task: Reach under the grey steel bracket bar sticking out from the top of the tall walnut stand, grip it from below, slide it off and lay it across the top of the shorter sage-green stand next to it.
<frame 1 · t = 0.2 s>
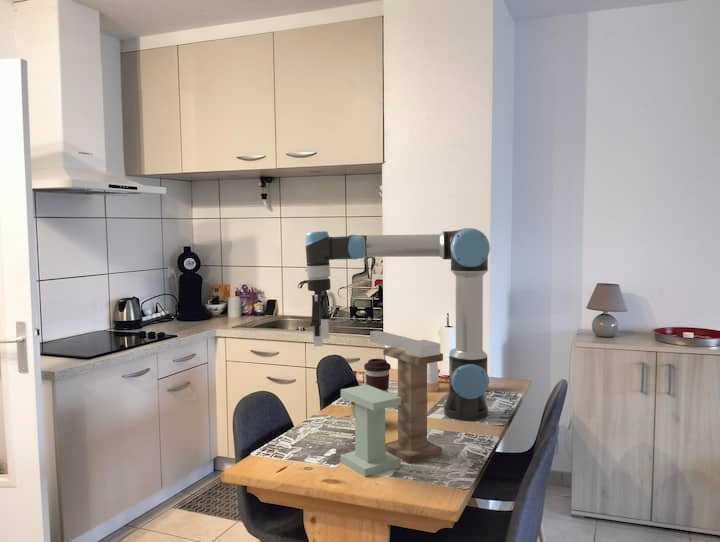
hand: (321, 342, 201), 27 cm above the table, tool pointing down, fingers open, 13 cm apart
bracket: (412, 350, 174), point 30 cm above the table, touching tall stand
flower pot: (365, 424, 202), on the table
low stand: (370, 463, 168), on the table
tall stand: (412, 452, 177), on the table
coffee cup: (377, 399, 230), on the table
pepper shaker: (430, 390, 243), on the table
food container: (473, 391, 241), on the table
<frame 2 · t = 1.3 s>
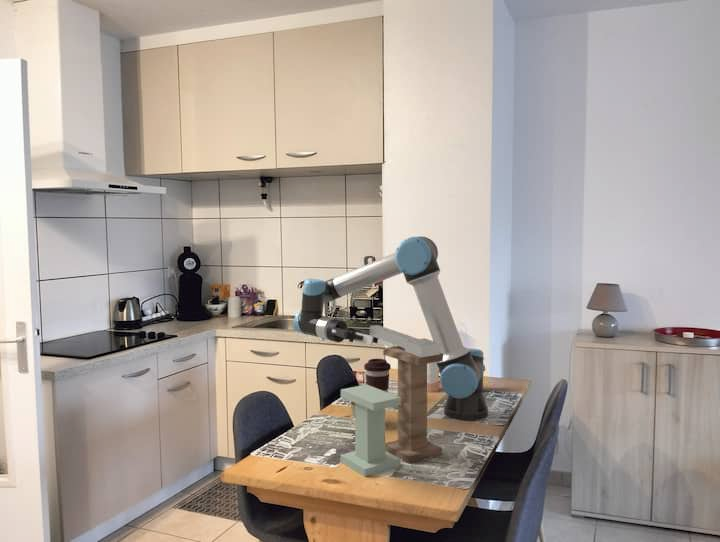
hand: (383, 342, 194), 29 cm above the table, tool horizontal, fingers open, 13 cm apart
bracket: (412, 349, 174), point 31 cm above the table, touching gripper, tall stand
everything else where it was.
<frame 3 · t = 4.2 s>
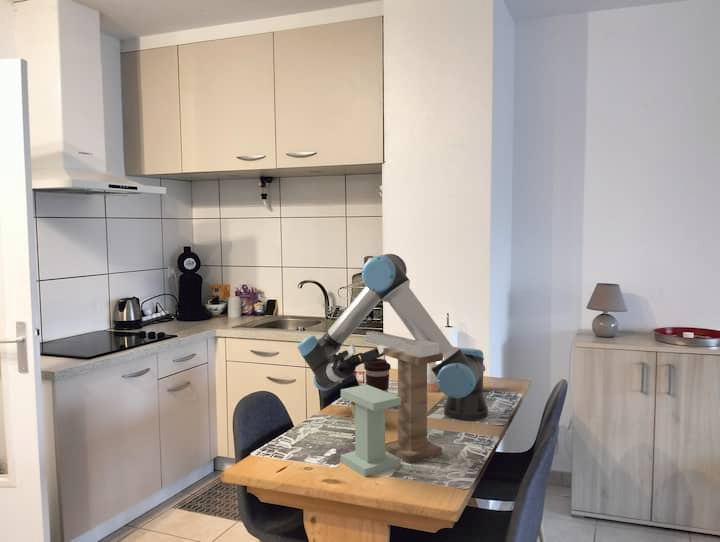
hand: (372, 345, 190), 28 cm above the table, tool pointing upward, fingers open, 13 cm apart
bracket: (410, 350, 174), point 30 cm above the table, touching tall stand
everything else where it was.
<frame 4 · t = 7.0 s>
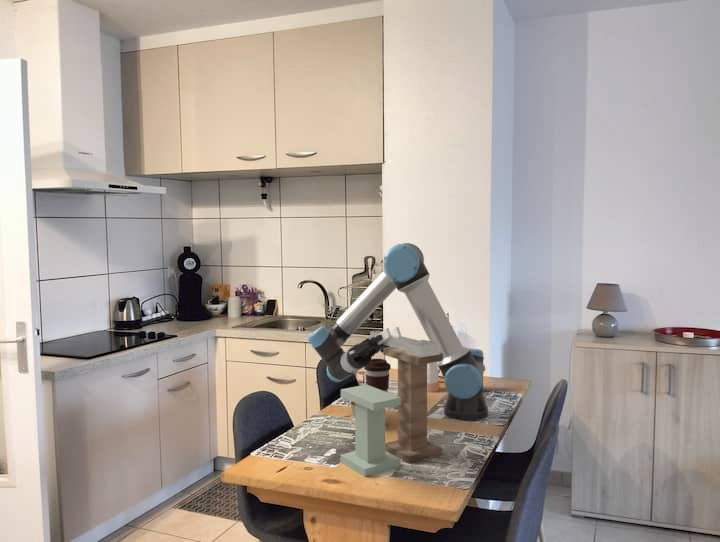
hand: (393, 331, 181), 34 cm above the table, tool pointing upward, fingers closed on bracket, 3 cm apart
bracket: (412, 350, 174), point 30 cm above the table, touching gripper, tall stand
everything else where it was.
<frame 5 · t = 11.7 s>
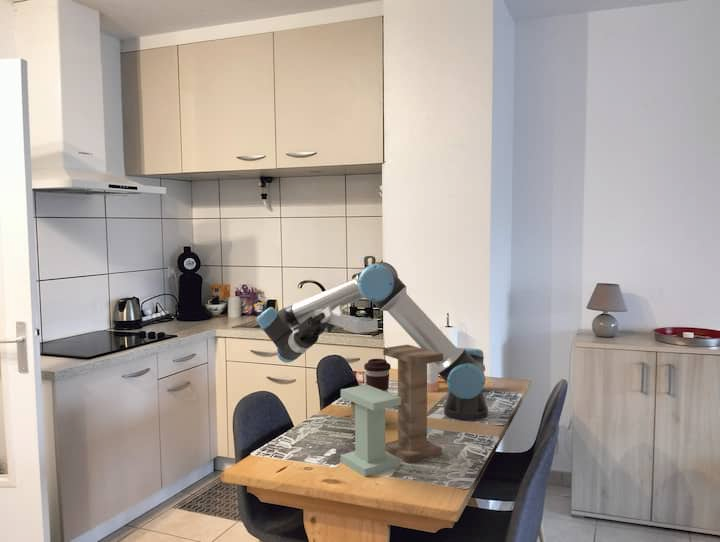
hand: (335, 309, 182), 41 cm above the table, tool pointing upward, fingers closed on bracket, 3 cm apart
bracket: (351, 327, 175), point 37 cm above the table, touching gripper
everything else where it was.
when the fingers open (26 cm above the table, at t = 16.7 s): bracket drops 2 cm, resting on low stand.
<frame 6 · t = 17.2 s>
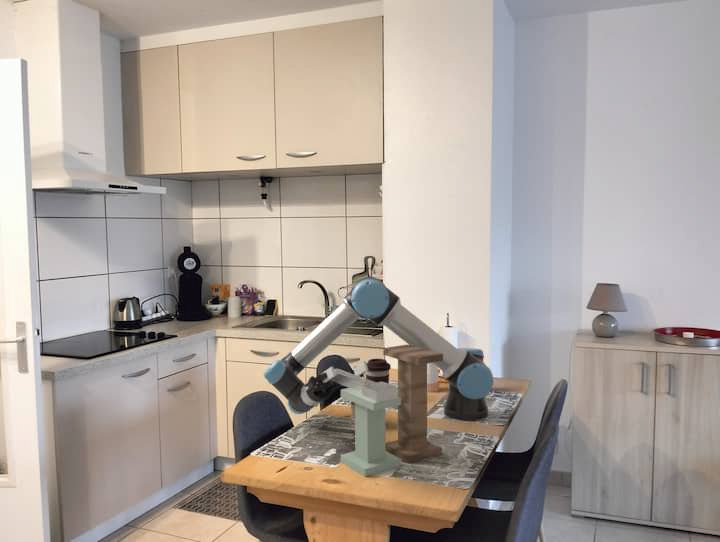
hand: (349, 368, 175), 25 cm above the table, tool pointing upward, fingers open, 10 cm apart
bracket: (369, 393, 167), point 20 cm above the table, touching low stand
everything else where it was.
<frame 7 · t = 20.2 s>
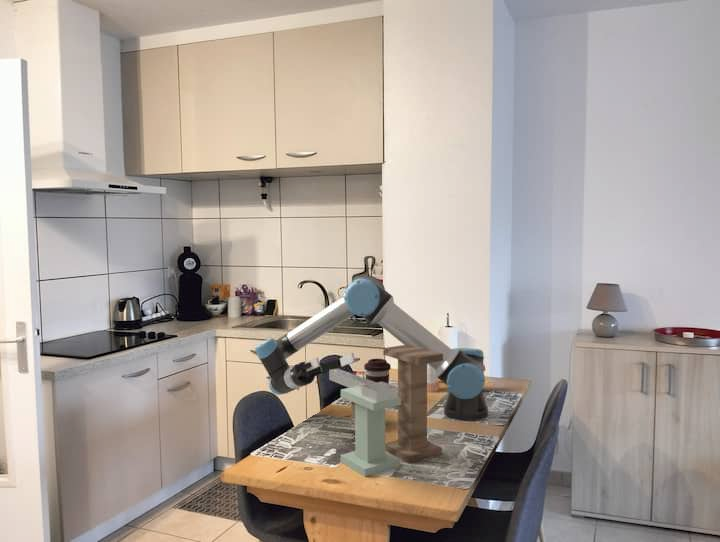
hand: (336, 359, 186), 25 cm above the table, tool pointing upward, fingers open, 13 cm apart
nothing on the table moved.
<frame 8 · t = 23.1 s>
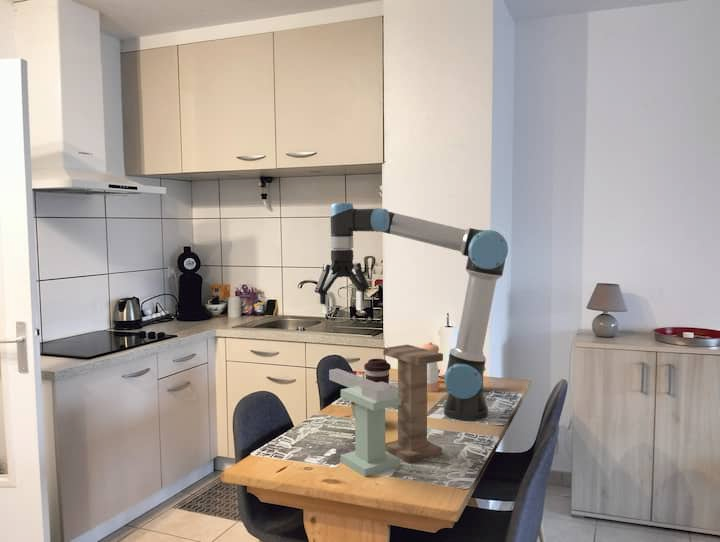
hand: (342, 312, 205), 37 cm above the table, tool pointing down, fingers open, 13 cm apart
nothing on the table moved.
at the end: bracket inside the target area on the low stand (0.0 cm from its centre), point 20.0 cm above the low stand's base; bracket tilted 0°; the gripper is holding nothing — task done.
